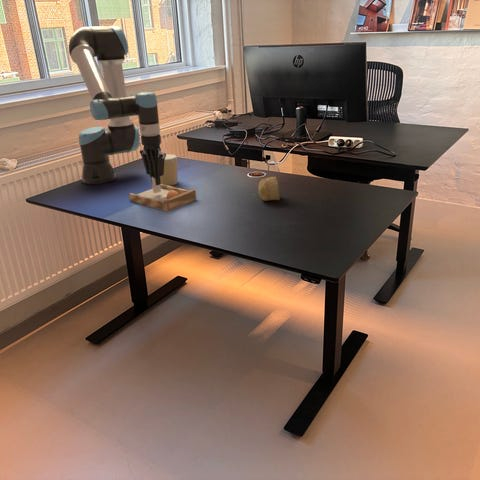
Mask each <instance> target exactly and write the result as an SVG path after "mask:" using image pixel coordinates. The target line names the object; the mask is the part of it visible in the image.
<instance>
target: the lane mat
mask: <svg viewBox="0 0 480 480" xmlns="http://www.w3.org/2000/svg"><path fill="white" fill-rule="evenodd" d="M160 189H161V191H160V192H158V193H153V188H151V189H148V190H145V191H142V192H140V193H137V194H136V195H140V196H143V197H147V198H151V199H154V200H158V201H161V202H164V201H165V200H167V193H168V192H169V191H170V190H166V189H162V188H160Z"/></svg>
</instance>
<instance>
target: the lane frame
mask: <svg viewBox="0 0 480 480" xmlns="http://www.w3.org/2000/svg"><path fill="white" fill-rule="evenodd" d="M160 188H162V189H166V190H170V191H171V190H175V191H177V192H178V194H179V195H177V196H175V197H172V198H170V199H167V200H165V201H164V202H161V201H158V200H154V199H151V198H147V197H143V196H140V195H137V194H136V193H134V192H133V193H132V192H130V193H128V196H129V201H130V202H134V203H137V204H140V205H142V206H143V205H144V206H146V207H150V208H153V209H157V210H161V211H164V212H167V213H168V212H170V211H172V210H175V209H177V208H180V207H182V206H185V205H186V204H188V203H192V202H194V201H196V200H197V194H196V193H197V192H196V189H190V190H188V189H183V188H179V187H175V186H173V185H170V186H168V185H164V184H160Z"/></svg>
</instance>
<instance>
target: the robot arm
mask: <svg viewBox="0 0 480 480" xmlns="http://www.w3.org/2000/svg"><path fill="white" fill-rule="evenodd" d="M68 53H69V56H70V59H71V61H72V62H73V63H75V64H76V65H77V68H78V71H79V73H80V76H81V77H82V79H83V82H84V83H85V87H86V88H87V91H88V93H89V96H90V98H91V101H90V102H89V108H90V109H89V110H90V113H91V116H92V117H93V120H95V121H106V120H109V121H108V123H107V127H108V129H107V128H106V129H105V127H103V126H92V127H89V128H85V129H83V130H81V132H79V134H78V141H79V142H78V144H79V146H80V148H79V149H80V152H81V154H80V155H81V158H82V174H81V181H82V182H83V184H85V185H86V184H88V185H100V184H107V183H109V182H112V181H115V179H116V177H117V176H116V172H115V169H114V168H113V166H112V164H111V162H110V157H109V156H114V155H119V154H127V153H128V154H129V153H132V152H135V151H137V150H138V149H139V147H140V143H141V145H142V146H143V147H142V148H143V149H140V150H139V154H140V156H141V158H142V162H143V166H144V169H145V172H146V175H149V176H150V181H151V184H152V189H153V193H158V192H160V191H161V189H160V184H161V182H160V176H163V175H164V162H165V157H166V154H167V153H166V152H162V148H161V144H162V139H161V134H160V133H161V128H160V121H159V119H160V118H159V110H158V100H157V95H156V93H155V92H153V91H151V92H150V91H142V92H138V93H136V94H130V95H129V96H127V89H126V83H125V76H124V75H125V74H124V69H123V63H124V61H125V60H126V57H125V56H126V55H128V54H129V46H128V41H127V38H126V34H125V32H124V30H123V29H122V28H121V27H120V26H116V25H105V26H104V25H102V26H84V27H80V28H79V29H77V30H76V31H74V33H73V34H72V35H71V37H70V38H69V43H68ZM95 57H96V58H95ZM96 59H97V60H96ZM98 63H99V64H100V65H101V68H102V72H101V70H100V69H101V68H100V67H99V65H98ZM133 116H134V117H135V116H137V117H138V123H139V124H138V125H139V128H138V126H137V125H135V124H134V121H132V120H131V119H130V117H133Z"/></svg>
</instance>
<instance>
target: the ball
mask: <svg viewBox="0 0 480 480" xmlns="http://www.w3.org/2000/svg"><path fill="white" fill-rule="evenodd" d="M177 195H179V194H178V192H177V191H175V190H171V191H169V192H168V193H167V199H170V198H172V197H175V196H177Z"/></svg>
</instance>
